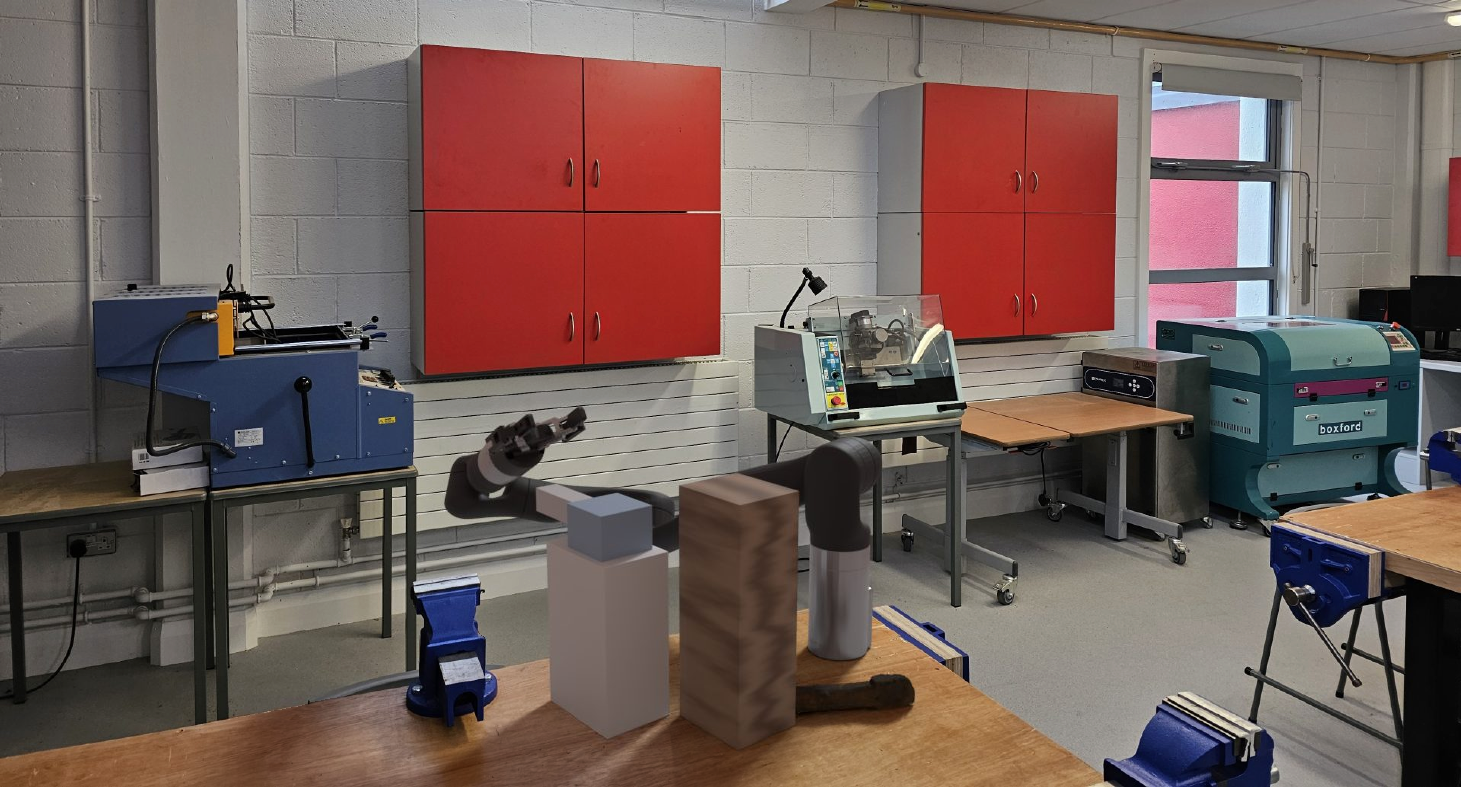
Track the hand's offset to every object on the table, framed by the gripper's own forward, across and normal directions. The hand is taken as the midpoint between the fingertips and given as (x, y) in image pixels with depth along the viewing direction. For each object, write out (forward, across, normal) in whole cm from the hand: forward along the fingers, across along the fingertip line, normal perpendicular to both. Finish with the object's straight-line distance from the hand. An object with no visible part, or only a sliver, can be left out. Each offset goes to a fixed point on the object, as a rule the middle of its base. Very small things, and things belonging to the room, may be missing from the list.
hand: (558, 416), depth 146 cm
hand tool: (+13, +22, +52) cm, 58 cm away
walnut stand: (+7, +8, +48) cm, 49 cm away
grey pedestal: (-5, -3, +41) cm, 41 cm away
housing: (+2, -3, +18) cm, 19 cm away
